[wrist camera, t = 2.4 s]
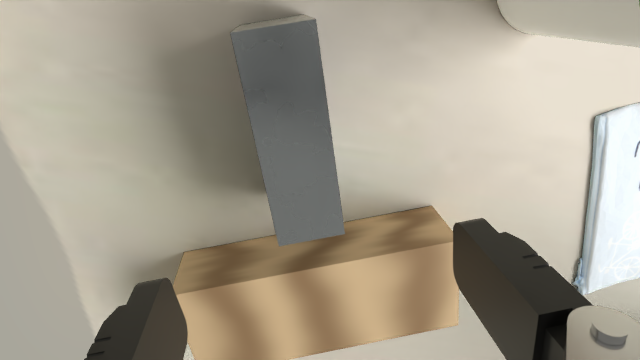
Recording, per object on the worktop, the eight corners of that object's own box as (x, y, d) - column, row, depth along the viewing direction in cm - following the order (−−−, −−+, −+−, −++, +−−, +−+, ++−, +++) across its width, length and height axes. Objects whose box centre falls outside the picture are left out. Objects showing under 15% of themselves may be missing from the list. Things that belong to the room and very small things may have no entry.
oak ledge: (432, 205, 31) (459, 240, 27) (433, 282, 35) (458, 325, 30) (184, 252, 30) (169, 296, 26) (210, 326, 34) (201, 377, 29)
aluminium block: (303, 14, 24) (315, 18, 18) (328, 184, 29) (345, 234, 23) (240, 24, 24) (230, 32, 18) (276, 193, 29) (278, 246, 23)
